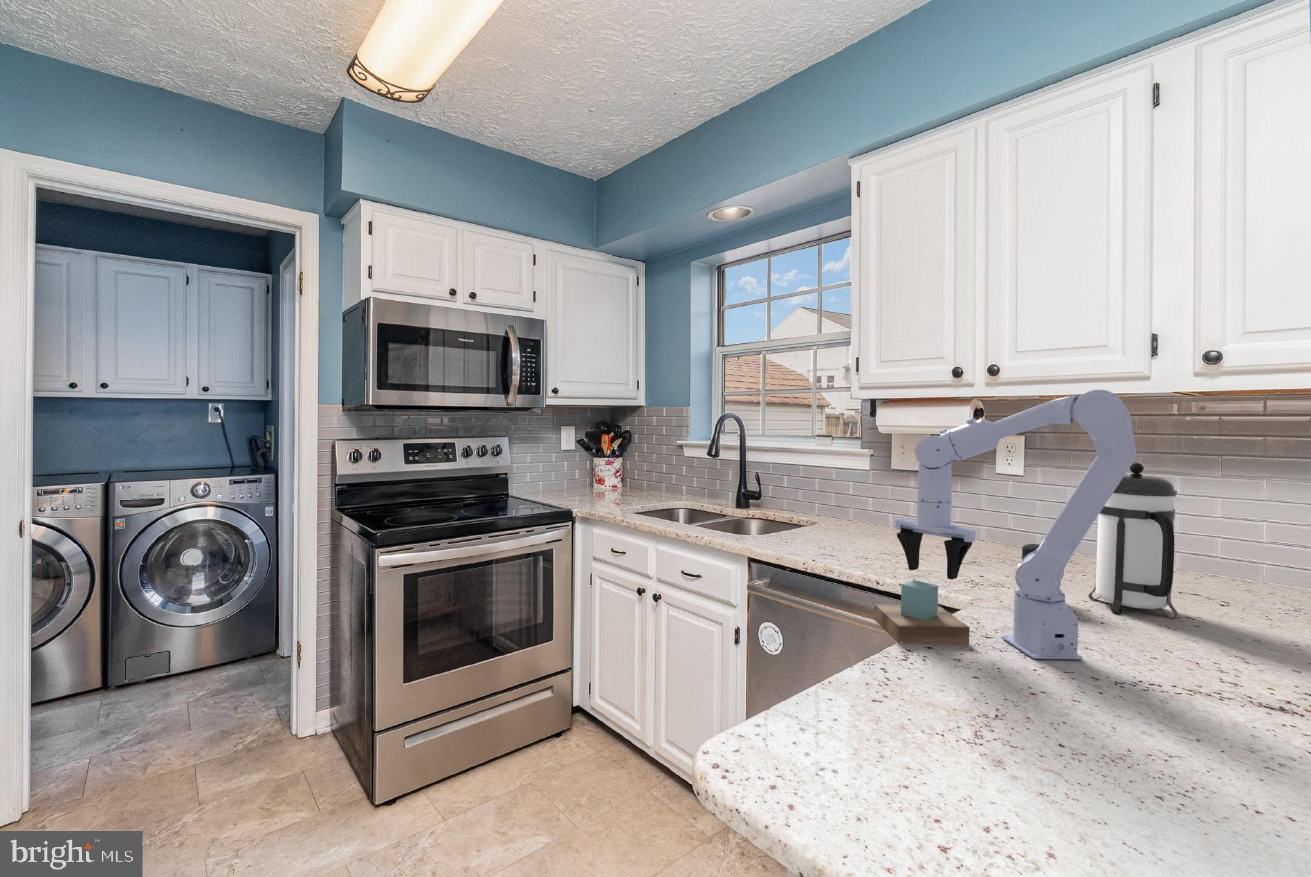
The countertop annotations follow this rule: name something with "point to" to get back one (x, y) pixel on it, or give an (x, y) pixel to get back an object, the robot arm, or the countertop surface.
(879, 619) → the walnut box
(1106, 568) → the coffee press
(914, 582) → the teal block
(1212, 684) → the countertop surface
